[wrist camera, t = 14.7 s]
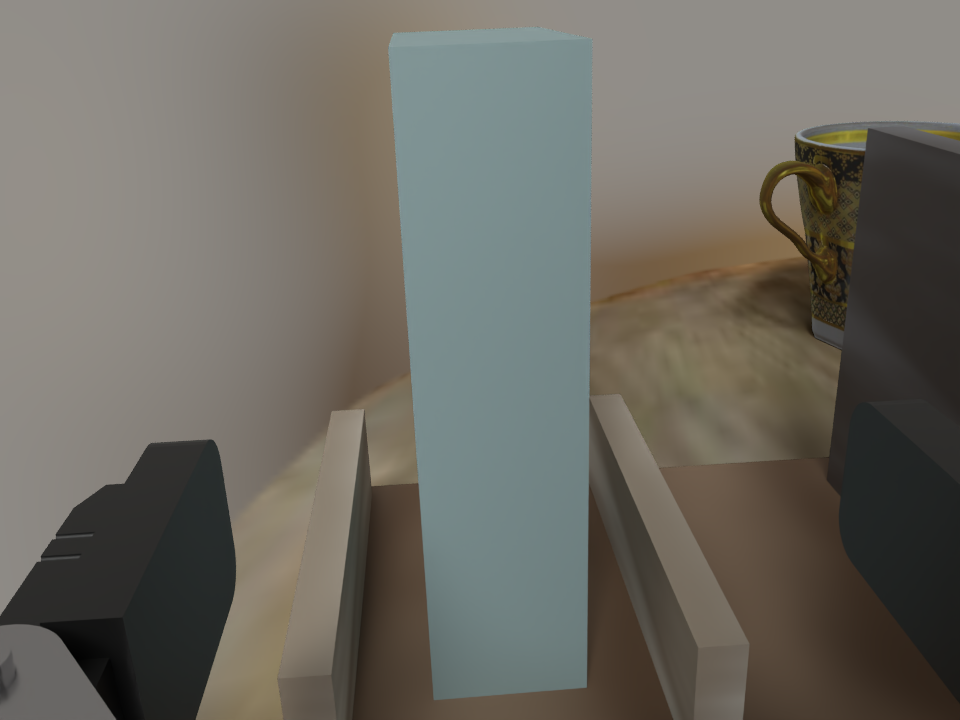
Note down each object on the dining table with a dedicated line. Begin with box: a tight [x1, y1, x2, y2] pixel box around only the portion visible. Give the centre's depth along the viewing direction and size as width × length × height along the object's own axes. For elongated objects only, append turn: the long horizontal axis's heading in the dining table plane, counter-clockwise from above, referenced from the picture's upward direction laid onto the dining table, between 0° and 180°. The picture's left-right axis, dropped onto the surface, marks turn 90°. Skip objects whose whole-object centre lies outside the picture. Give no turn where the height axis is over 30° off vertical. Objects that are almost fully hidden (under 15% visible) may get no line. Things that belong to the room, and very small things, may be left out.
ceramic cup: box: [760, 121, 960, 350], centre depth 44 cm, size 13×10×10 cm
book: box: [388, 27, 592, 700], centre depth 22 cm, size 4×7×14 cm, turn 4°
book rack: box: [278, 126, 960, 720], centre depth 23 cm, size 17×13×13 cm
